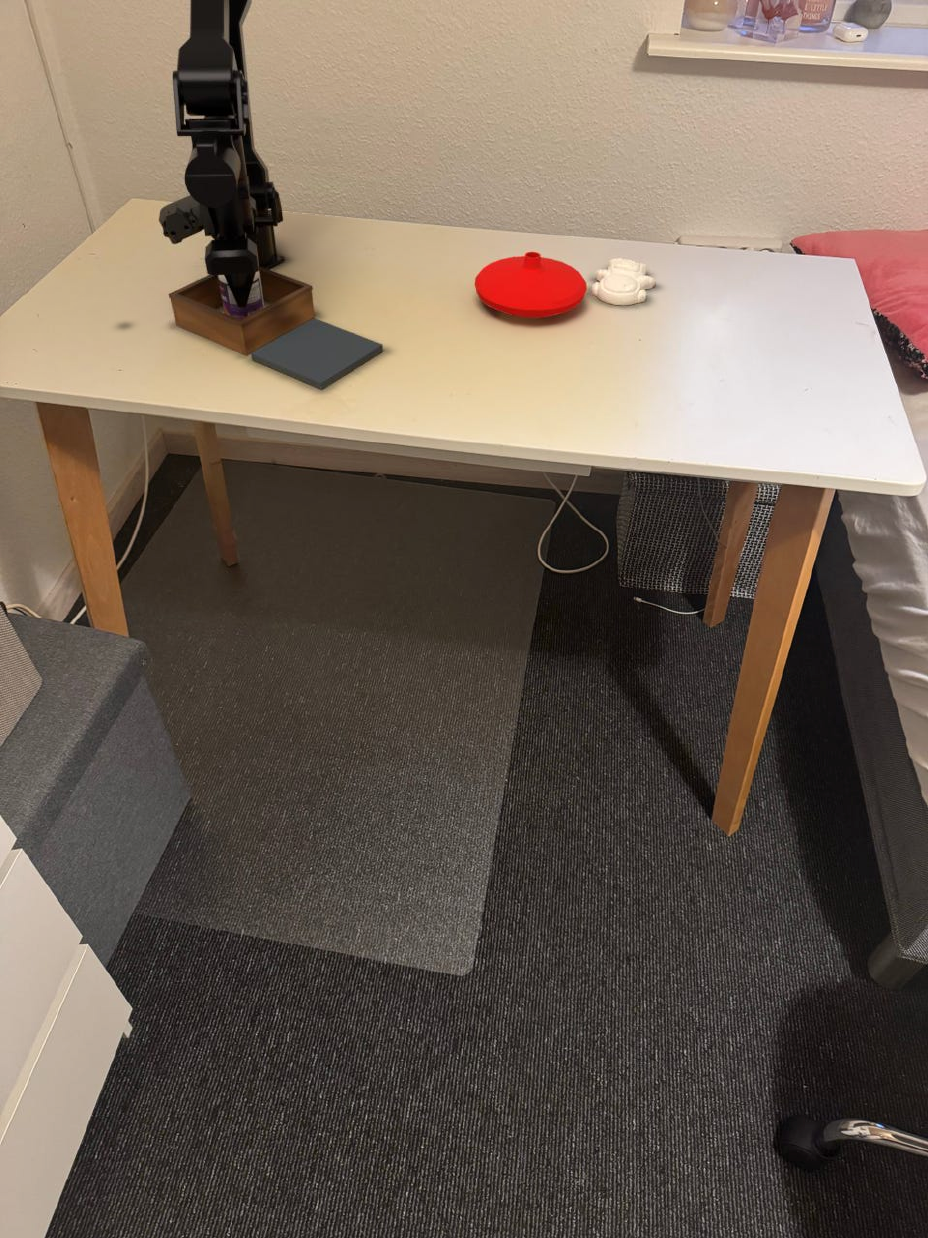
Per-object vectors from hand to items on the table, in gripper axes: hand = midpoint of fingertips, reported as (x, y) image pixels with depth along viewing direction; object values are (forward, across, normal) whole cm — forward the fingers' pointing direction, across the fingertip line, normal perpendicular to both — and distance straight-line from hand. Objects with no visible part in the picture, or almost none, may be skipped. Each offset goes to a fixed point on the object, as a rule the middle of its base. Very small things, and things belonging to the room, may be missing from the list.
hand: (242, 296), depth 126 cm
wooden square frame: (+4, 0, 0) cm, 4 cm away
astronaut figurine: (+4, -4, +54) cm, 55 cm away
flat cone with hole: (+4, 0, +40) cm, 40 cm away
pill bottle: (+4, 0, 0) cm, 4 cm away
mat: (+4, +11, +9) cm, 14 cm away
